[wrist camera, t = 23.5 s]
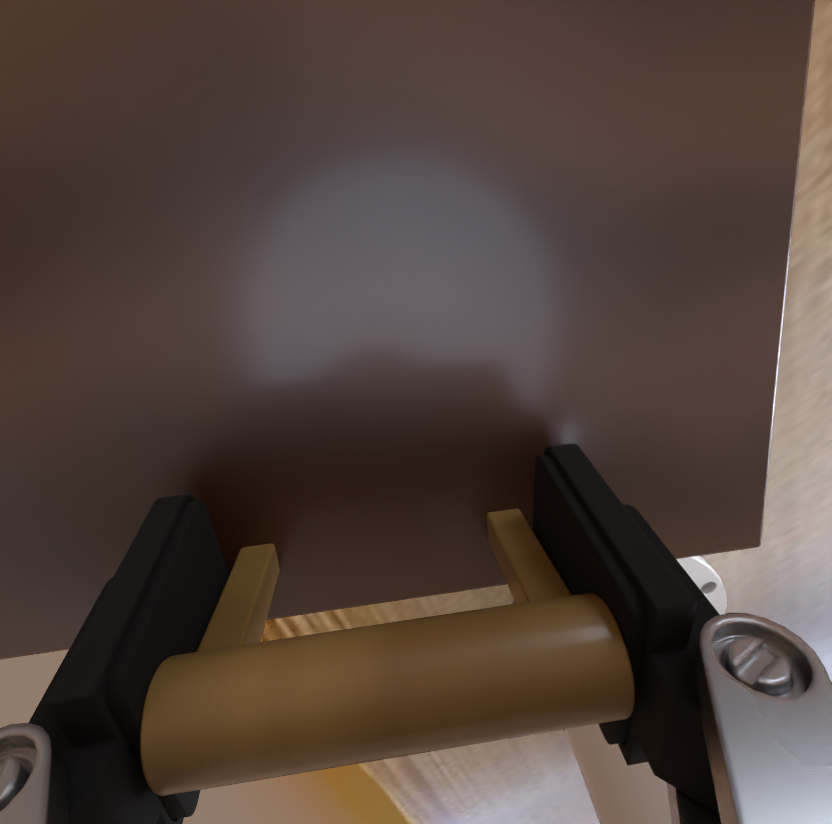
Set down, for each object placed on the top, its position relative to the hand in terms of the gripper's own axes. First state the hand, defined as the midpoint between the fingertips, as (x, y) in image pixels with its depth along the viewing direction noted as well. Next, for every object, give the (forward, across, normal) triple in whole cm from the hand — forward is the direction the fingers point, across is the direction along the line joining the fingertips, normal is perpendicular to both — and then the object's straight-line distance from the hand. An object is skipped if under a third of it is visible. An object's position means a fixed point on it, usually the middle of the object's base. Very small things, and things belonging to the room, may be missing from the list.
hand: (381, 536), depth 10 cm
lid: (+2, 0, -5) cm, 6 cm away
